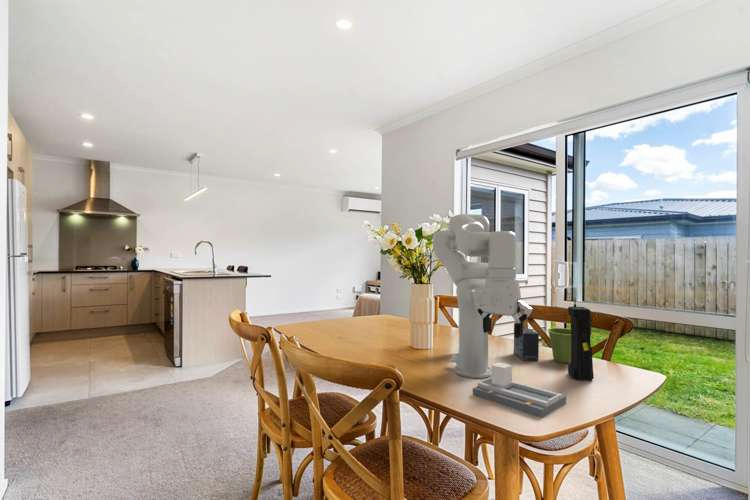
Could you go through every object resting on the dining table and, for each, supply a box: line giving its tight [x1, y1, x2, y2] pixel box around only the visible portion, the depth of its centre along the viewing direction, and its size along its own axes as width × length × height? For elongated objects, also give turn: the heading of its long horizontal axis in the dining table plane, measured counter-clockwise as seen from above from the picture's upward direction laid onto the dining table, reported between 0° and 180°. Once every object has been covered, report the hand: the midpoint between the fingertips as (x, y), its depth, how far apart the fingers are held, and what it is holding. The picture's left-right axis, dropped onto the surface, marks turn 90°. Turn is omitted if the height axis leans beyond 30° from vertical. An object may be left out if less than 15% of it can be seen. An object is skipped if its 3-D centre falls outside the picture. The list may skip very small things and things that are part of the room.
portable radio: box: [567, 298, 595, 382], centre depth 127 cm, size 8×6×25 cm
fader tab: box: [490, 362, 513, 389], centre depth 112 cm, size 4×6×6 cm
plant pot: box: [546, 327, 571, 364], centre depth 147 cm, size 12×12×11 cm
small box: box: [513, 327, 540, 362], centre depth 152 cm, size 11×6×10 cm, turn 179°
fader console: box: [472, 376, 567, 419], centre depth 108 cm, size 20×14×3 cm
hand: (502, 334), depth 112 cm, fingers open, 9 cm apart
